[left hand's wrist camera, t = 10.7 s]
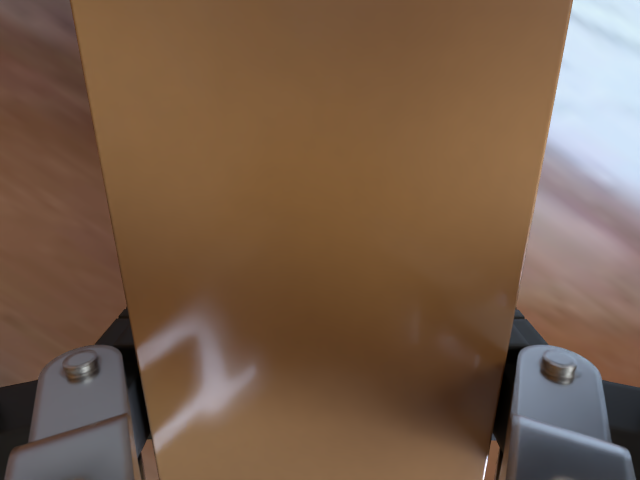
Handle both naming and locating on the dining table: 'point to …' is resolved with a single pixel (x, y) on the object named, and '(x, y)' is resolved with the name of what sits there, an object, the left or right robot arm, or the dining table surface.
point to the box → (321, 222)
